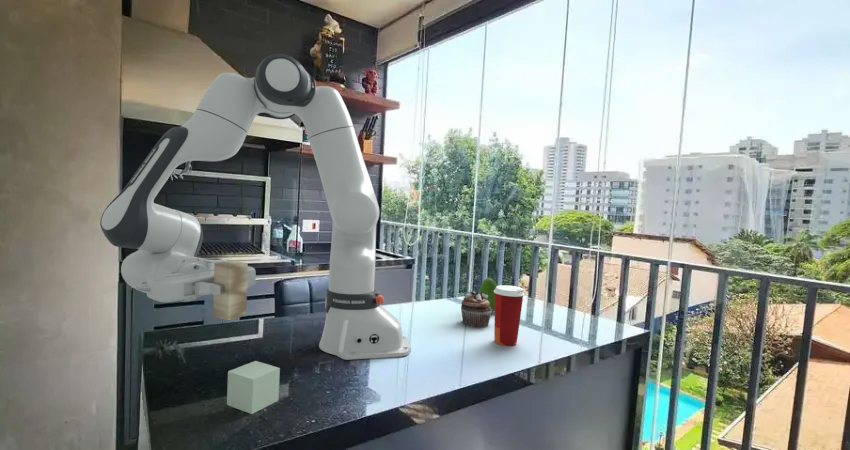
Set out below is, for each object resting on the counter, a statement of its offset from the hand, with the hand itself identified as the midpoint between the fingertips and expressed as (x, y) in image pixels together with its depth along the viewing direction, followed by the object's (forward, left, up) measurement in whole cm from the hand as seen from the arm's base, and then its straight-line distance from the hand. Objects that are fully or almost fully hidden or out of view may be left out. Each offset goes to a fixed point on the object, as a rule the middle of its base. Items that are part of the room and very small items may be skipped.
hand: (234, 287), depth 81 cm
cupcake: (-59, -46, -19) cm, 77 cm away
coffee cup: (-63, -29, -19) cm, 72 cm away
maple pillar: (+1, -1, -6) cm, 6 cm away
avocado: (-67, -60, -19) cm, 92 cm away
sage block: (-6, +6, -19) cm, 21 cm away
